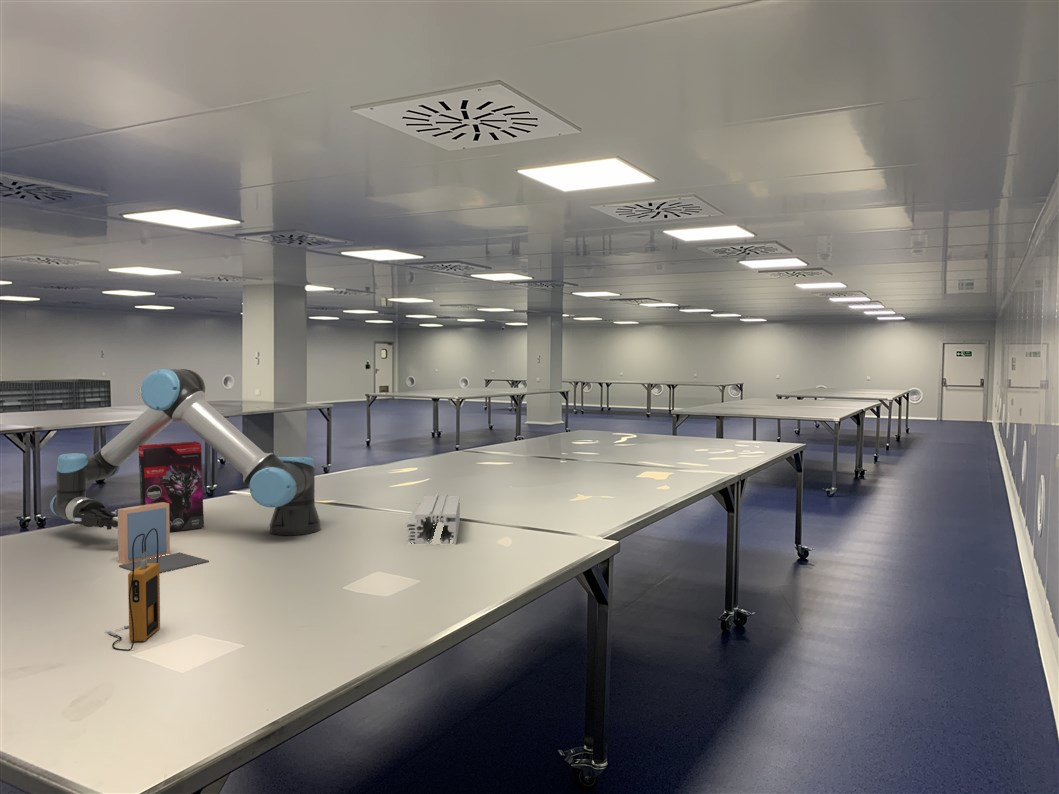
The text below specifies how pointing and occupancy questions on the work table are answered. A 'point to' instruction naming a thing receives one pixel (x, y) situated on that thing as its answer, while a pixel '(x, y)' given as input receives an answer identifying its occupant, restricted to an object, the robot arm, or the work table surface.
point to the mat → (169, 562)
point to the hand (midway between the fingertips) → (127, 525)
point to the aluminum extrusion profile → (436, 507)
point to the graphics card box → (173, 481)
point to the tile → (143, 531)
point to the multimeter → (143, 598)
